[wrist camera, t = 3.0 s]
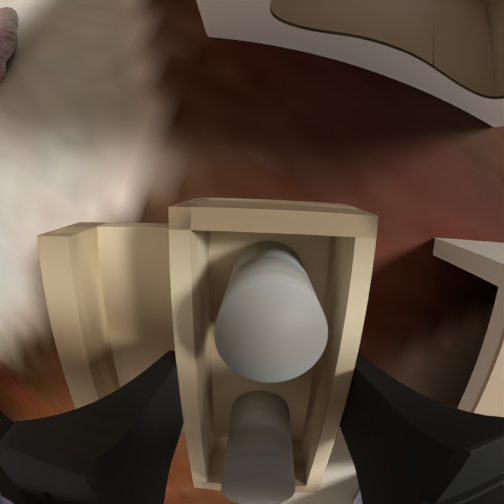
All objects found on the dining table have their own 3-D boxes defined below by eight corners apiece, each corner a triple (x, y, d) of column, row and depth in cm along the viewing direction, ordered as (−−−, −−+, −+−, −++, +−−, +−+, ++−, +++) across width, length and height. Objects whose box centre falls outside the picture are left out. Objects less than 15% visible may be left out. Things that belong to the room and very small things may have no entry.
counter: (464, 416, 23) (503, 468, 14) (383, 435, 23) (415, 505, 14) (518, 244, 19) (591, 270, 10) (434, 237, 19) (521, 271, 10)
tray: (309, 439, 14) (320, 518, 9) (115, 420, 14) (79, 485, 9) (344, 203, 11) (403, 225, 6) (78, 198, 12) (-9, 216, 6)
